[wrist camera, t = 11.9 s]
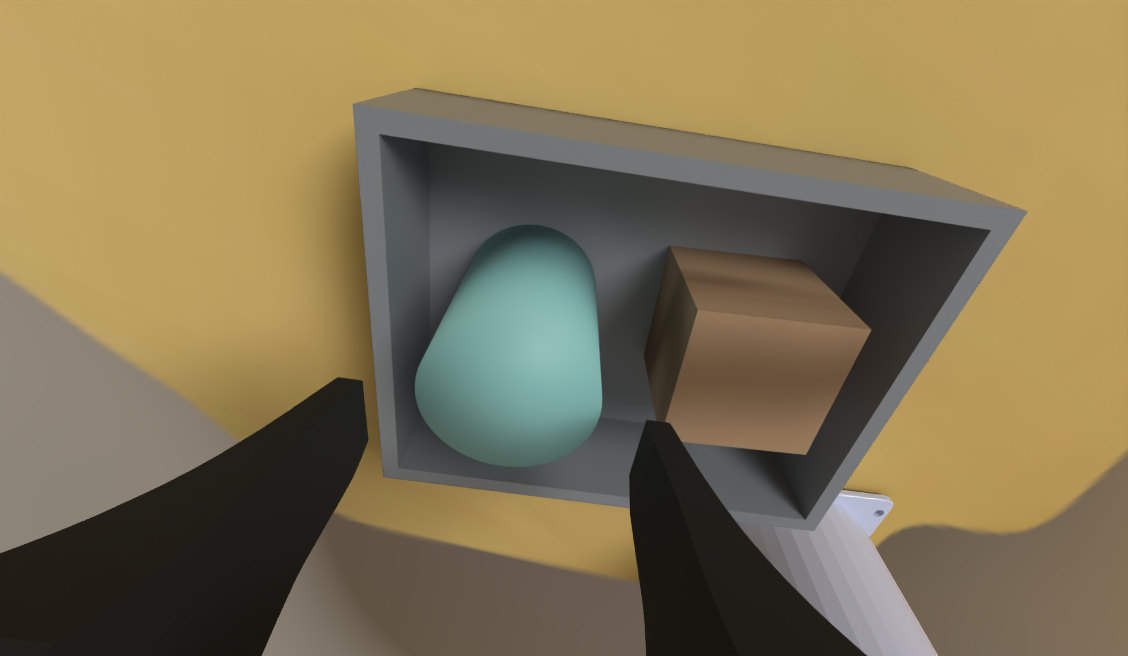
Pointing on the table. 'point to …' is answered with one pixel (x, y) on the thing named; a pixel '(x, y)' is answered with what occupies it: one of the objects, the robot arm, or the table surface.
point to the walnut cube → (747, 350)
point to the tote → (654, 274)
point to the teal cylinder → (516, 352)
